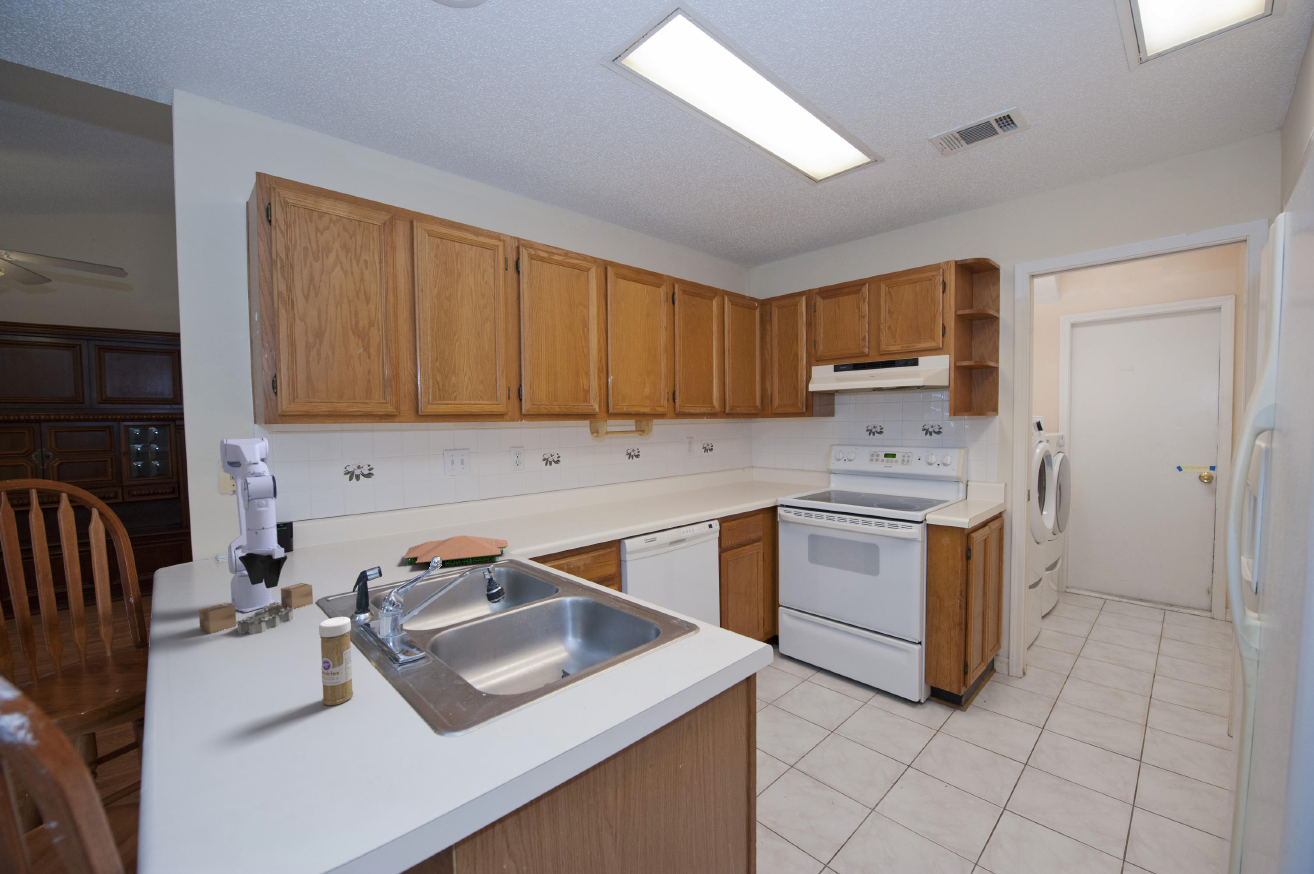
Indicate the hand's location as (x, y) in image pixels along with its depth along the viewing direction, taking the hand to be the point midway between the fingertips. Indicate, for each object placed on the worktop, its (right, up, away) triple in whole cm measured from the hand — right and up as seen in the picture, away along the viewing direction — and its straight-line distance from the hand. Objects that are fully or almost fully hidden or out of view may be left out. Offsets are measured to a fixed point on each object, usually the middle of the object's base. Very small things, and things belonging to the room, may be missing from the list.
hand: (264, 585), depth 126 cm
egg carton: (0, -10, 0) cm, 10 cm away
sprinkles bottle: (+38, -10, -35) cm, 53 cm away
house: (+24, -7, +57) cm, 63 cm away
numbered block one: (-2, -9, +14) cm, 17 cm away
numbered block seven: (-10, -10, -1) cm, 14 cm away
